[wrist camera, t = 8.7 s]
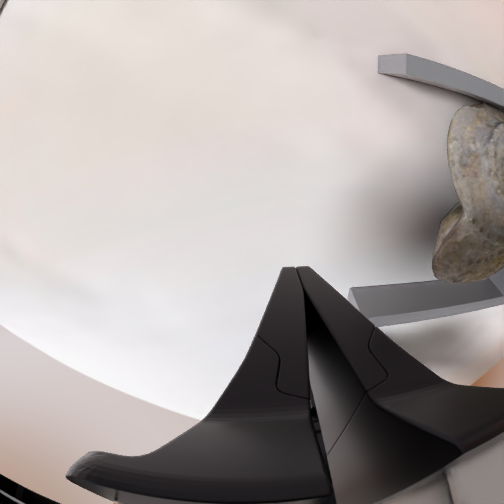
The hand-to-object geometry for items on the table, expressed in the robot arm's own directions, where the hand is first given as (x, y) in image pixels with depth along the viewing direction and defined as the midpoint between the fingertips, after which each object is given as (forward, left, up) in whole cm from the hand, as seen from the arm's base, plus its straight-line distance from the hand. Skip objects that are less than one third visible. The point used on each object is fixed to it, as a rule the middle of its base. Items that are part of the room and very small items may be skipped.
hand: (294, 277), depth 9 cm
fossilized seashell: (+1, -13, -8) cm, 16 cm away
